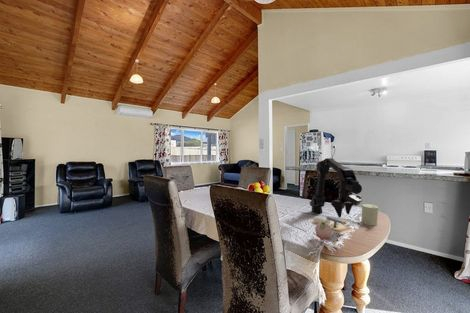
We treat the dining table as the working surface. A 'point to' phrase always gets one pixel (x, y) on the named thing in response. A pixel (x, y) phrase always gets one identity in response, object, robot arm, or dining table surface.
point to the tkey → (336, 221)
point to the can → (369, 214)
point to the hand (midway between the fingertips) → (343, 215)
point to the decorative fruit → (323, 231)
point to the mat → (298, 228)
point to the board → (338, 229)
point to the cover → (321, 220)
